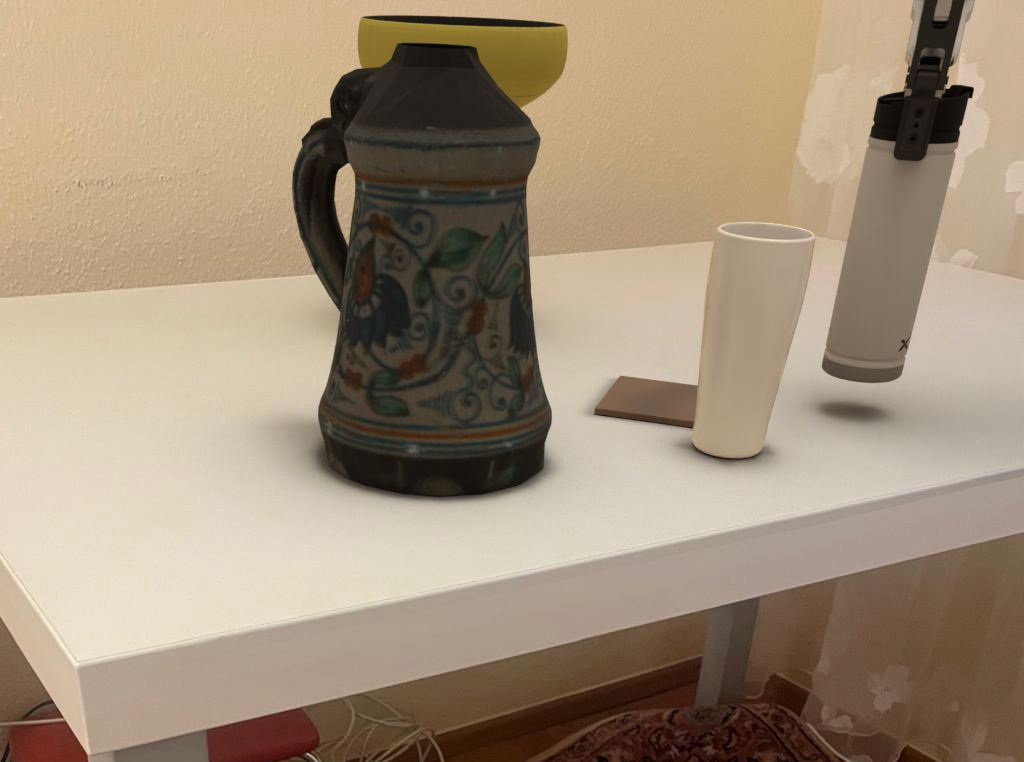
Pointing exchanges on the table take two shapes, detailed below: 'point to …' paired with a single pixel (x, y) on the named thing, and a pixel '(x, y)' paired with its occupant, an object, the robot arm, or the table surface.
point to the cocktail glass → (500, 45)
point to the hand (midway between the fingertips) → (908, 153)
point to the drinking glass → (748, 332)
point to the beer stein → (427, 276)
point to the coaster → (650, 401)
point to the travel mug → (891, 243)
